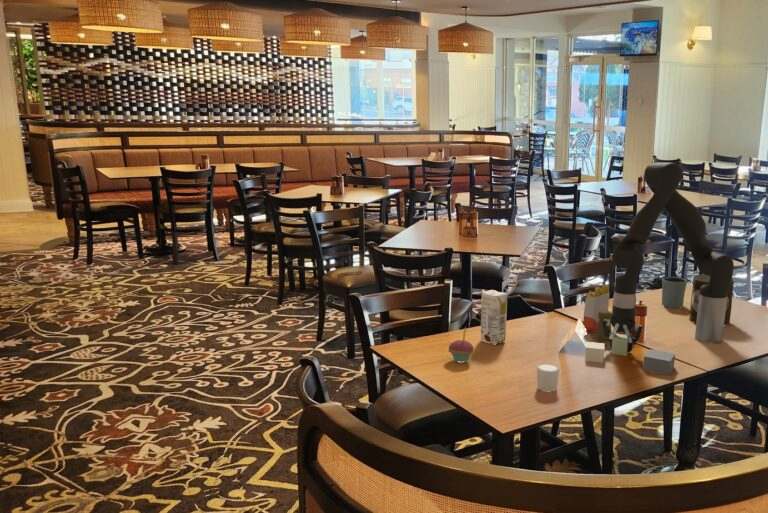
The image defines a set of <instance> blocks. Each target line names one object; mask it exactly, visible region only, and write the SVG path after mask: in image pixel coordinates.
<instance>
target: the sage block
mask: <svg viewBox="0 0 768 513" xmlns="http://www.w3.org/2000/svg"><path fill="white" fill-rule="evenodd" d="M628 342H629V341H628V338H627V336H626V334H622V333H621V334H620V333H616V335H614V337H613V339H612V349H611V354H613V355H617V356H618V355H619V356H624V357H627V356H628V355H629V352H627V350H628Z"/></svg>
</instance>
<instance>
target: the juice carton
mask: <svg viewBox="0 0 768 513" xmlns="http://www.w3.org/2000/svg"><path fill="white" fill-rule="evenodd" d="M480 309H481V310H480V341H481V340H484V341H487V342H490V343H492V344H497V345H499V344H498V343H500V342H503V341H505V342H506V337H507V312H508V311H507V310H508V293H507V292H503V291H502V292H501V291H497V290H494V289H489V290H486V291H484V292H482V293H481V306H480ZM503 343H504V342H503ZM492 344H491V345H492ZM500 344H501V343H500Z"/></svg>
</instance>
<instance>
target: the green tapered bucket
mask: <svg viewBox="0 0 768 513" xmlns="http://www.w3.org/2000/svg"><path fill="white" fill-rule="evenodd" d="M661 284H662V285H661V286H662V287H661V289H662V290H661V306H663V305H664V306H663V307H665V306H666V308H668V307H671V308H670V309H681V308H680V307H682V308H683V307H684V303H685V302H684V299H685V295H686V294H685V292H686V288H687V284H688V279H685V278H683V277H678V276H677V277H676V276H665V277H662V278H661Z"/></svg>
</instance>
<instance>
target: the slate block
mask: <svg viewBox="0 0 768 513" xmlns="http://www.w3.org/2000/svg"><path fill="white" fill-rule="evenodd" d="M675 357H676V353H672V352H666V351H661V350H658V349H657V350H656V349H648V351H647V352H646V354H645V355H644V356H643V365H642V370H643V371H647V372H650V373H657V374H662V375H667V376H670V374H671V372H672V371H673V369H674V368H675V361H676V360H675V359H676V358H675Z"/></svg>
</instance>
